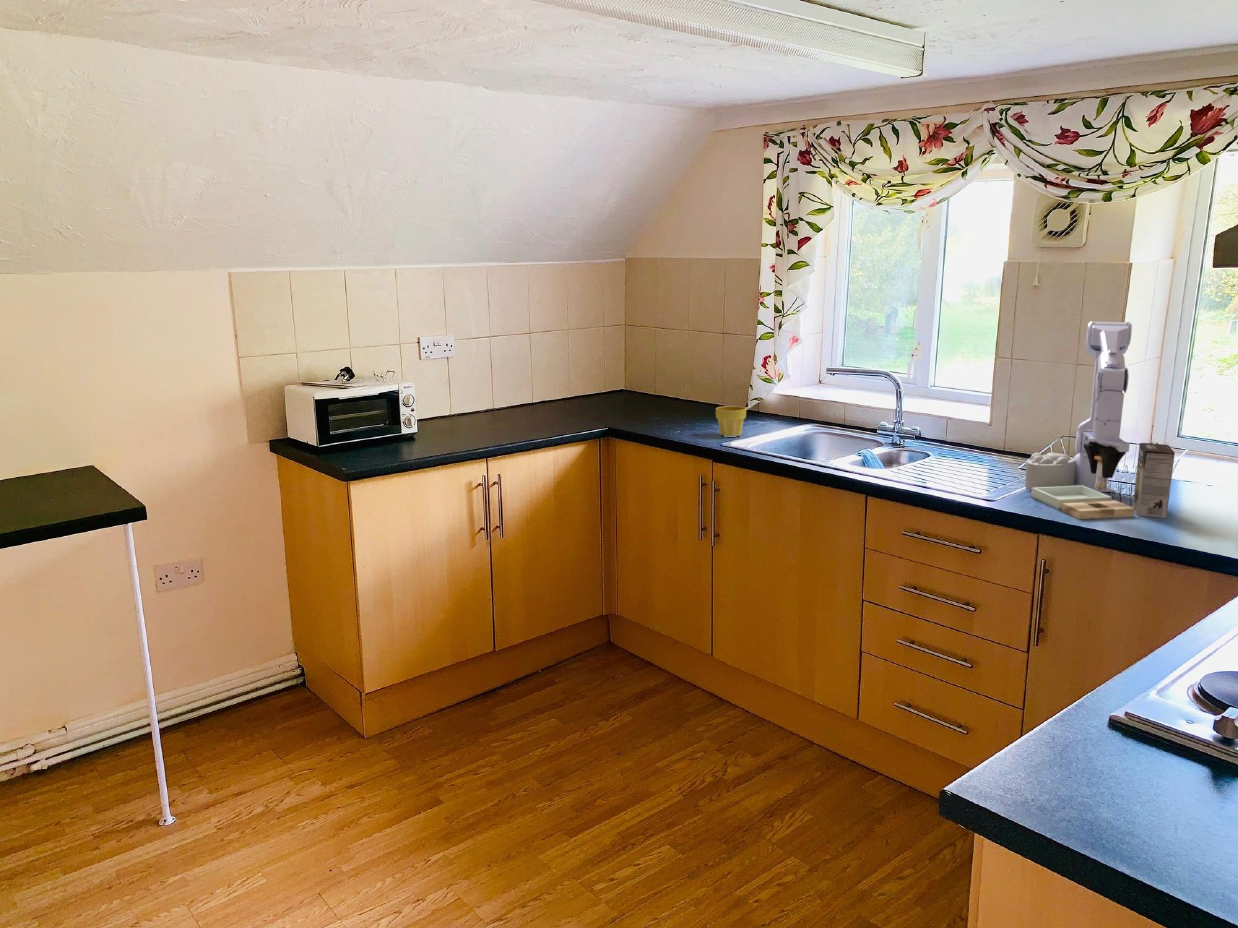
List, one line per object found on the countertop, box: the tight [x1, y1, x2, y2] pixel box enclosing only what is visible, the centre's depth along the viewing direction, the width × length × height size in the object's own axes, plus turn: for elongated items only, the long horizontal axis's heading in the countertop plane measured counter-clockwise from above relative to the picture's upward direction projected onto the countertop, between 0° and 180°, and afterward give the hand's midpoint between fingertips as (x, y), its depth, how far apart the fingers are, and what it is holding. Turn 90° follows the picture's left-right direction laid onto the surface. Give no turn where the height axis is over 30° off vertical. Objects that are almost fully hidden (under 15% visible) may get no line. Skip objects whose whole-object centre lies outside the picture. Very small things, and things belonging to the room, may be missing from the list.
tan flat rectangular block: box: [1061, 500, 1136, 520], centre depth 227 cm, size 7×14×2 cm, turn 98°
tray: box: [1030, 485, 1113, 510], centre depth 237 cm, size 12×14×2 cm
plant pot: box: [715, 405, 747, 436], centre depth 323 cm, size 10×10×10 cm
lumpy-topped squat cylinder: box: [1024, 451, 1076, 491], centre depth 251 cm, size 10×13×9 cm
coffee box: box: [1132, 442, 1176, 519], centre depth 226 cm, size 9×6×16 cm
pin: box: [1094, 454, 1107, 490], centre depth 225 cm, size 4×4×8 cm
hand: (1101, 475), depth 225 cm, fingers closed on pin, 4 cm apart
